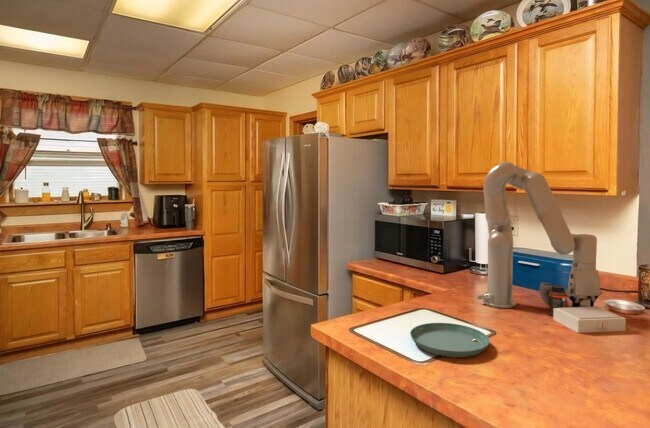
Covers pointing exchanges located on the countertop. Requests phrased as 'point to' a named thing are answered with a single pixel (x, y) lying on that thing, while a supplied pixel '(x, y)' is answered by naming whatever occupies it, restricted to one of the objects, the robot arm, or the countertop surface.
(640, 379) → the countertop surface
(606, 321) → the scale
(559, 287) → the supplement bottle
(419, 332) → the saucer
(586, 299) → the spacer
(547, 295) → the perforated stone tool
